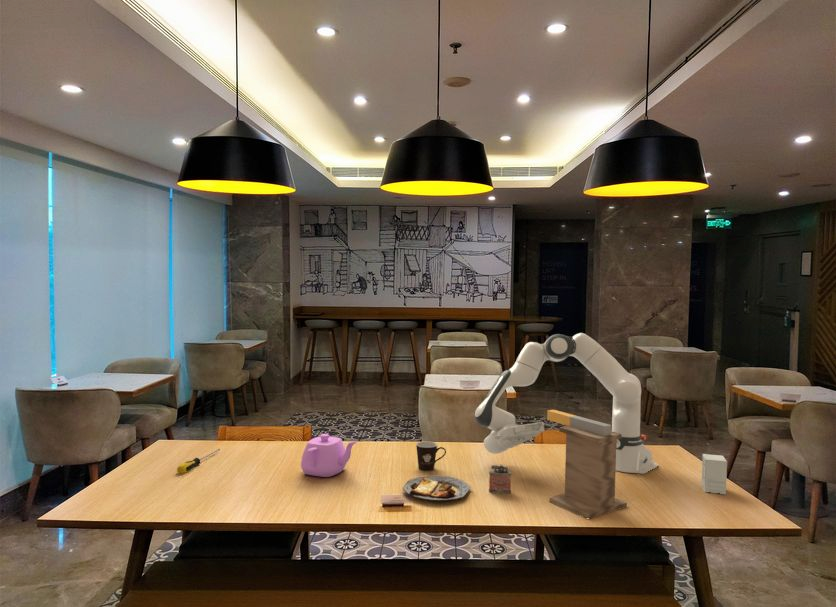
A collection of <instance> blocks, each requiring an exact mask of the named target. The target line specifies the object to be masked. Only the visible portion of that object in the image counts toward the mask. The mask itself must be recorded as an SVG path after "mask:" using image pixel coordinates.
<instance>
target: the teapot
mask: <svg viewBox="0 0 836 607" xmlns="http://www.w3.org/2000/svg"><path fill="white" fill-rule="evenodd" d="M357 443H358V441H350V442H348V443H347V444H346V447H345V445H344V441H343V440H342V439H341V437H336V436H330V434H328V433H322V434H319V436H316V437H313V438H312V439H310V440H309V441H308V442H307V443H306V445H305V448H304V450H303V453H302V456H301V461H300V462H301V463H300V467H301V470H302V471H303V474H306V475H309V476H314V477H319V478H320V477H322V478H323V477H324V478H331V477H332V476H335V475H337V474H340V473H341V472H342V471H343V470H344V469H345V468H346V466H347V464H348V462H349V460H350V458H351V455H352V449H353V446H354V445H355V444H357Z"/></svg>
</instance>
